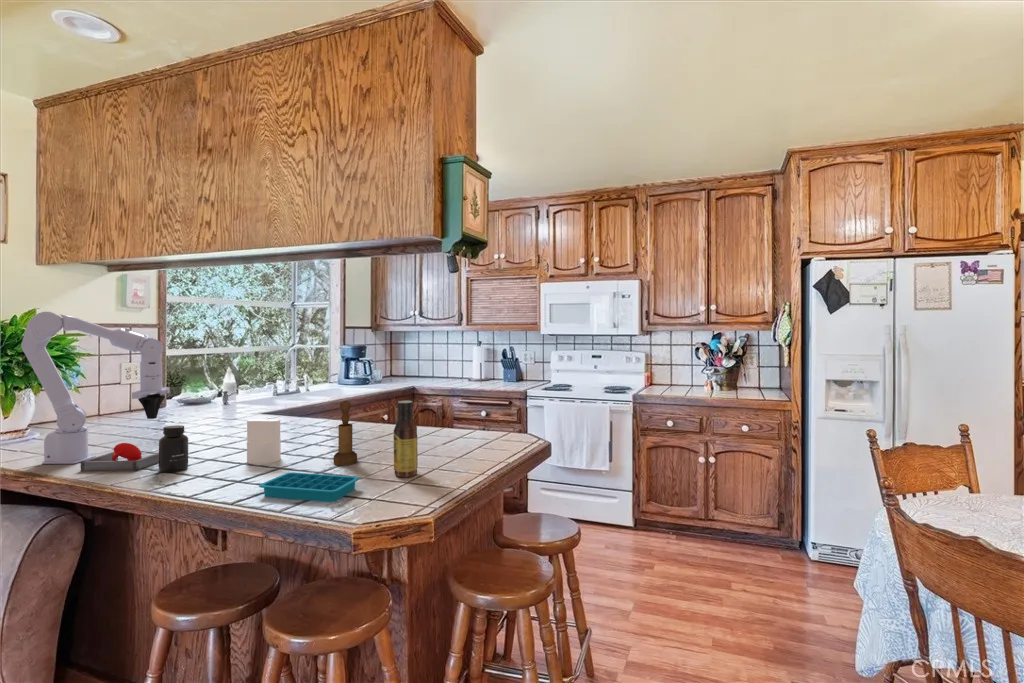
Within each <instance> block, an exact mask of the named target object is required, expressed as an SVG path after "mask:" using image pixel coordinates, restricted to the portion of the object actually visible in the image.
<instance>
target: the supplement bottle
mask: <svg viewBox="0 0 1024 683" xmlns="http://www.w3.org/2000/svg"><path fill="white" fill-rule="evenodd" d="M185 431H186V430H185V425H182V424H181V425H178V424H177V425H175V424H174V425H166V426H164V427H163V433H162V434H163V436H162V437H161V438H159V439H158V453H159V462H158V471H159V472H160V473H167V474H168V473H178V472H183V471H185V470H187V469H189V437H188V436H187V434H186V435H185V434H184V433H185Z"/></svg>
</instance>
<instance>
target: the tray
mask: <svg viewBox="0 0 1024 683" xmlns="http://www.w3.org/2000/svg"><path fill="white" fill-rule="evenodd" d="M113 453H114V451H112V452H108V453H105V454H102V455H98V456H96V457H94V458H91V459H88V460H85V461H81V462H80V472H134V471H135V472H137V471H139V470H142V469H145V468H147V467H150V466H153V465H155V464H159V452H156V453H153V454H151V455H148V456H145V457H143V458H142V459H139V460H136V461H128V460H119V457H117V458H116V461H113V460H112V455H113Z"/></svg>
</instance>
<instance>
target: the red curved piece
mask: <svg viewBox="0 0 1024 683" xmlns="http://www.w3.org/2000/svg"><path fill="white" fill-rule="evenodd" d="M113 452H114V453H113V455H112V460H113V461H117V460H116V458H117V457H118V458H119V457H120V458H123V459H125V460H126V459H127V460H126V461H136V460H139V459H142V451H141V449H140V448H139V447H137V446H136V445H135V444H133V443H128V442H121V443H118V444H116V445H115V446H114V447H113Z"/></svg>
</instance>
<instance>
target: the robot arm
mask: <svg viewBox="0 0 1024 683" xmlns="http://www.w3.org/2000/svg"><path fill="white" fill-rule="evenodd" d="M62 329H63V332H66V331H67V332H69V331H70V332H71V331H79V332H82V333H85V334H89V335H93V336H96V337H100V338H102V339H103V338H104V339H107V340H108V341H109V342H110V344H111V346H113V347H118V348H120V349H123V350H127V351H130V352H134V353H137V352H140V363H139V369H140V370H139V371H140V373H139V375H140V377H139V379H140V380H139V381H140V383H139V384H140V387H139V388H140V390H136V391H133V392H131V399H132V400H134V399H136V400H137V399H138V402H139V403H140V404H141V406H142V407H143V411H144V412H145V416H146V419H147V420H148V419H149V420H154V419H157V417H158V414H159V412H160V408H161V405H162V403H163V401H164V400H165V397H166V396H165V394H170V392H171V390H170V389H171V388H170V386H165V387H163V361H162V359H163V356H162V353H163V351H164V346H163V344H162V342H161V341H160V340H158V339H156V338H154V337H149V335H148V334H141V333H138V332H134V331H132V330H131V328H128V327H125V328H122V327H119V328H117V329H111V328H108V327H105V326H102V325H99V324H96V323H94V322H91V321H88V320H84V319H81V318H80V317H79V318H78V317H76V316H70V315H67V314H66V315H64V314H57V313H55V312H52V311H41V312H38V313H36V314H35V315H34V316H32V318H31V319H30V320H29V321H28V323H27V324H26V329H25V332H24V336H23V338H22V341H21V345H20V347H21V349H22V351H23V353H24V355H25V357H26V359H27V361H28V362H29V364H30V366H31V368H32V369H33V371H34V373H35V375H36V377H37V378H38V381H39V383H40V385H41V387H42V388H43V390H44V392H45V393H46V395H47V397H48V400H49V402H50V403H51V406H52V407H53V410H54V412H55V415H56V425H57V428H56V429H55V430H53V431H51V432H49V433H48V434H47V435H46V436H45V437H44V441H43V453H44V454H43V456H44V457H43V458H44V459H43V460H44V461H41V464H42V465H44V464H46V465H55V464H58V465H61V464H62V465H63V464H66V465H67V464H68V465H69V464H70V465H72V464H78V463H81V462H82V461H85V460H88V459H92V458H95V457H97V455H93V454H91V455H89V438H88V437H89V427H87V426H85V423H86V421H87V420H86V418H87V414H86V411H85V410H84V409H83V408H81V407H80V406H79V405H78V404H77V403H76V401H75V398H73V396H72V395H71V393H70V391H69V389H68V388H67V385H66V383H65V382H64V380H63V378H62V376H61V375H60V373H59V371H58V368H57V367H56V364H55V363H54V361H53V359H52V357H51V355H50V353H49V352H48V350H47V348H46V347H47V345H48V344H49V342H50V340H51V339H52V337H53V336H55V335H56V334H57V333H59V332H60V331H61V330H62Z"/></svg>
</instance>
